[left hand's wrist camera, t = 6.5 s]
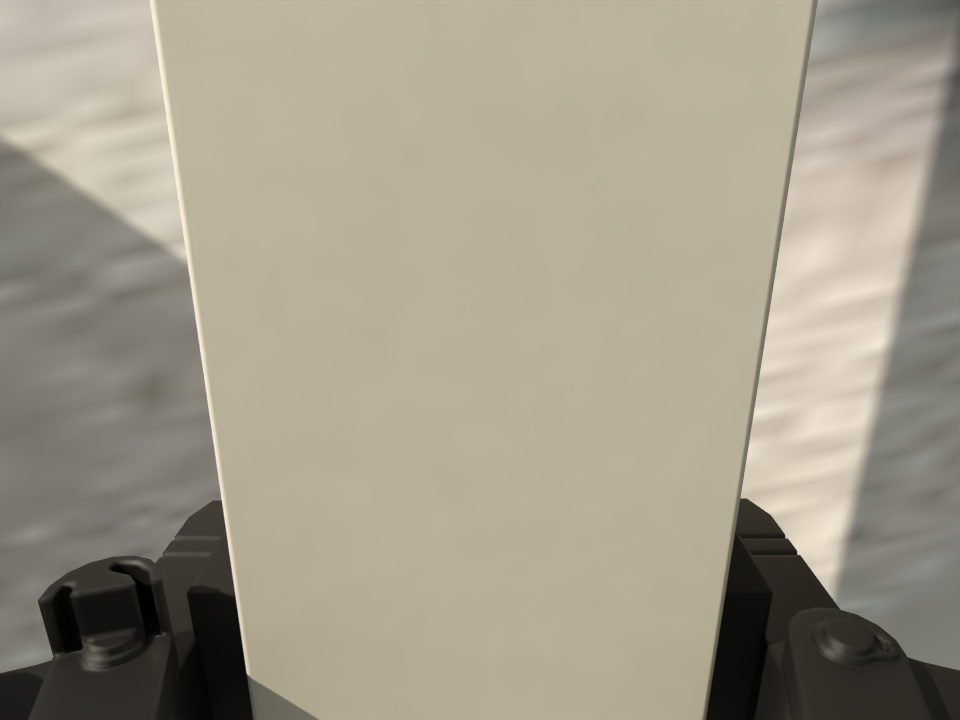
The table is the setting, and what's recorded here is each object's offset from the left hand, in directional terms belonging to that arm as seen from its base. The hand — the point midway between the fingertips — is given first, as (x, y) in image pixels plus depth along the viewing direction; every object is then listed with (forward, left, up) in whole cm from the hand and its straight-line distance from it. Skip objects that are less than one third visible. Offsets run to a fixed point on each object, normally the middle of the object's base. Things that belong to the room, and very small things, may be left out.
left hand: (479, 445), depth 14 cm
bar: (+3, +27, -1) cm, 27 cm away
